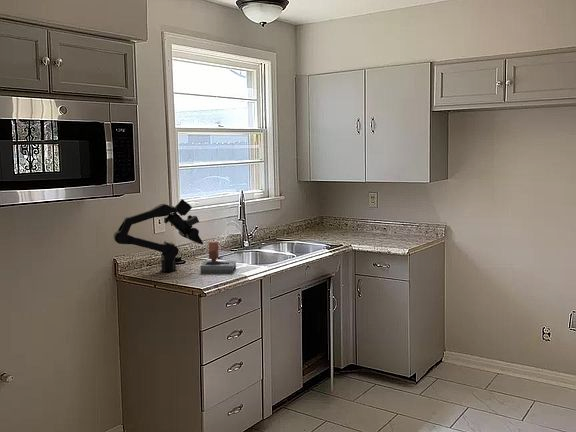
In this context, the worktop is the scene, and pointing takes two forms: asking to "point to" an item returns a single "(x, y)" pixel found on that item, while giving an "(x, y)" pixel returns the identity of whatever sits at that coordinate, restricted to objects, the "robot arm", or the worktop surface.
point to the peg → (213, 250)
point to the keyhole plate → (217, 267)
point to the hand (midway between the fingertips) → (200, 242)
